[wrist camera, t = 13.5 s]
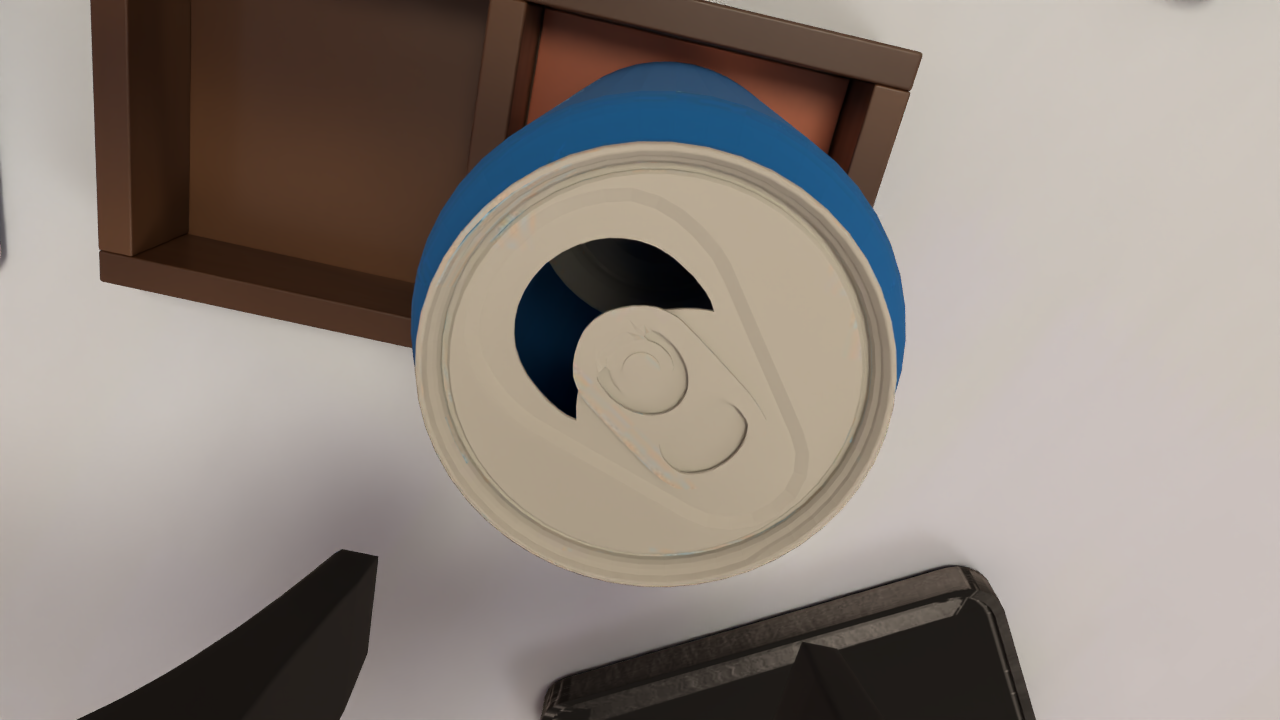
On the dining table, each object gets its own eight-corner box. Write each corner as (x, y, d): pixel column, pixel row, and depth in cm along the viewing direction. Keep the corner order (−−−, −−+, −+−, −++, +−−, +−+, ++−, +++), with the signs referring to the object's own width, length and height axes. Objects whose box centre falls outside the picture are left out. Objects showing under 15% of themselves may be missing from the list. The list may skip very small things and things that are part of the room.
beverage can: (678, -2, 19) (688, -48, 8) (844, 209, 21) (1047, 419, 9) (483, 183, 21) (263, 360, 10) (650, 363, 22) (629, 693, 11)
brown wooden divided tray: (784, 387, 23) (799, 432, 20) (165, 252, 22) (99, 282, 20) (890, 50, 20) (924, 52, 17) (165, -124, 19) (83, -149, 16)
